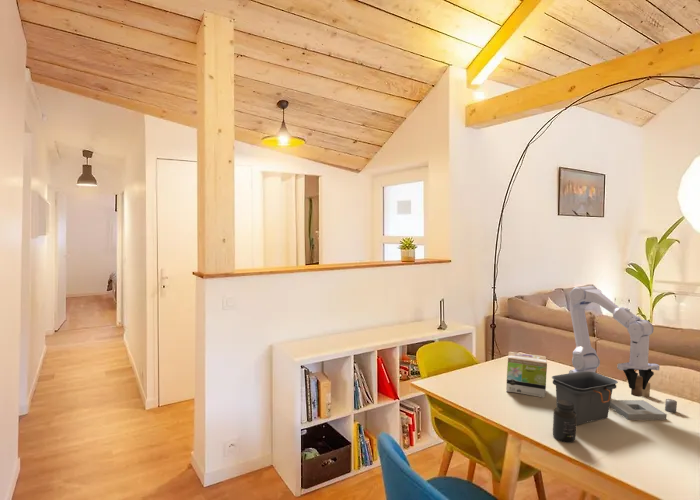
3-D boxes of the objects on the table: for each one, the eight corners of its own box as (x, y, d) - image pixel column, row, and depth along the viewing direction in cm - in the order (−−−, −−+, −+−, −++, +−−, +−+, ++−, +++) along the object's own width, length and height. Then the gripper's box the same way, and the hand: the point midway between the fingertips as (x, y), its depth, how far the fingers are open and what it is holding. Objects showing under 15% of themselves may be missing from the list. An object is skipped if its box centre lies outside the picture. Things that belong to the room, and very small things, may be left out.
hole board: (627, 419, 153) (628, 414, 153) (607, 405, 165) (607, 400, 165) (666, 419, 154) (666, 414, 154) (643, 405, 166) (643, 400, 166)
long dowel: (634, 396, 158) (635, 377, 157) (629, 392, 161) (630, 374, 161) (644, 396, 157) (644, 378, 157) (638, 393, 161) (639, 375, 160)
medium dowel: (643, 397, 173) (644, 384, 173) (637, 394, 176) (638, 381, 176) (651, 397, 173) (652, 384, 173) (645, 394, 176) (646, 381, 176)
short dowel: (669, 413, 159) (670, 402, 159) (662, 409, 162) (663, 398, 162) (678, 413, 159) (679, 402, 159) (671, 409, 163) (672, 398, 162)
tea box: (506, 392, 177) (507, 357, 176) (506, 383, 186) (508, 350, 185) (545, 398, 172) (547, 362, 171) (544, 389, 181) (546, 355, 180)
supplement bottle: (548, 433, 143) (549, 398, 142) (567, 432, 144) (569, 397, 143) (560, 443, 136) (561, 407, 136) (580, 442, 137) (582, 406, 136)
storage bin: (586, 405, 166) (588, 369, 165) (625, 422, 151) (627, 383, 150) (545, 414, 157) (547, 376, 156) (583, 433, 143) (585, 392, 142)
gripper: (626, 356, 154) (624, 392, 155) (666, 356, 154) (664, 392, 155) (614, 350, 161) (612, 385, 162) (652, 350, 161) (650, 385, 162)
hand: (637, 388), depth 159 cm, fingers closed on long dowel, 3 cm apart
